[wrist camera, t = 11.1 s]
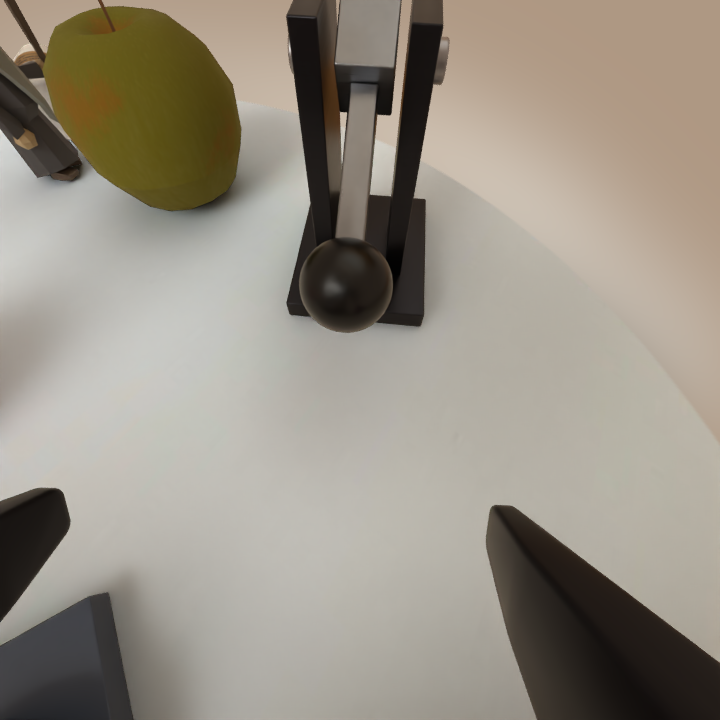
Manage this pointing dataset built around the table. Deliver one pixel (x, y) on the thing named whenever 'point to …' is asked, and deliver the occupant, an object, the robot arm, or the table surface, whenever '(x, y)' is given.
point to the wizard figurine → (32, 114)
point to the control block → (66, 668)
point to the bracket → (323, 148)
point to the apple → (145, 105)
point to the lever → (356, 172)
